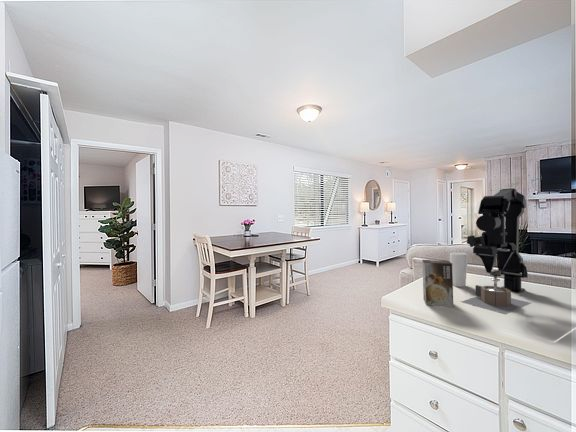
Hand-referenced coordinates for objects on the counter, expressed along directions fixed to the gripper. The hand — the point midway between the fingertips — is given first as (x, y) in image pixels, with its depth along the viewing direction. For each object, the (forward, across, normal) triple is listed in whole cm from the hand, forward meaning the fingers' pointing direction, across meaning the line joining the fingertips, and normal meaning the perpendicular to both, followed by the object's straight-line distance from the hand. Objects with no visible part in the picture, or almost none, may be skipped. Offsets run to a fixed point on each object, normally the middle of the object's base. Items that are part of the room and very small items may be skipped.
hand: (495, 271), depth 97 cm
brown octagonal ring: (+12, 0, -1) cm, 12 cm away
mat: (+12, 0, 0) cm, 12 cm away
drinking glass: (+12, -11, -19) cm, 25 cm away
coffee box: (+12, +18, -11) cm, 24 cm away
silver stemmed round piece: (+8, 0, 0) cm, 8 cm away
